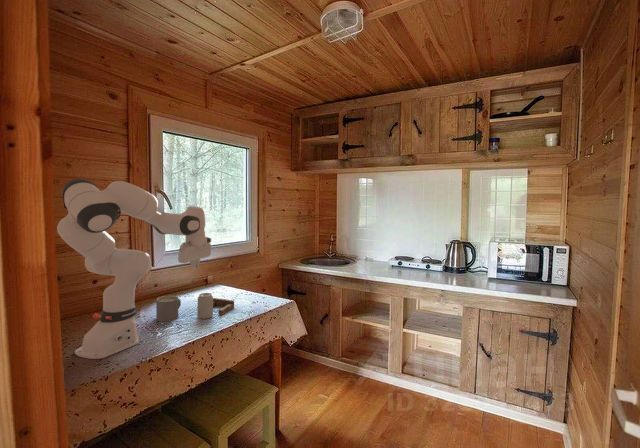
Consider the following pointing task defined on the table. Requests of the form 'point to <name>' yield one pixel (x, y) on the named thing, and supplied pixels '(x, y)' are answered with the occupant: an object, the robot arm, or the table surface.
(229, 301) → the cradle
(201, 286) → the table surface
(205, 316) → the can
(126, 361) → the table surface
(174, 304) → the coffee mug
